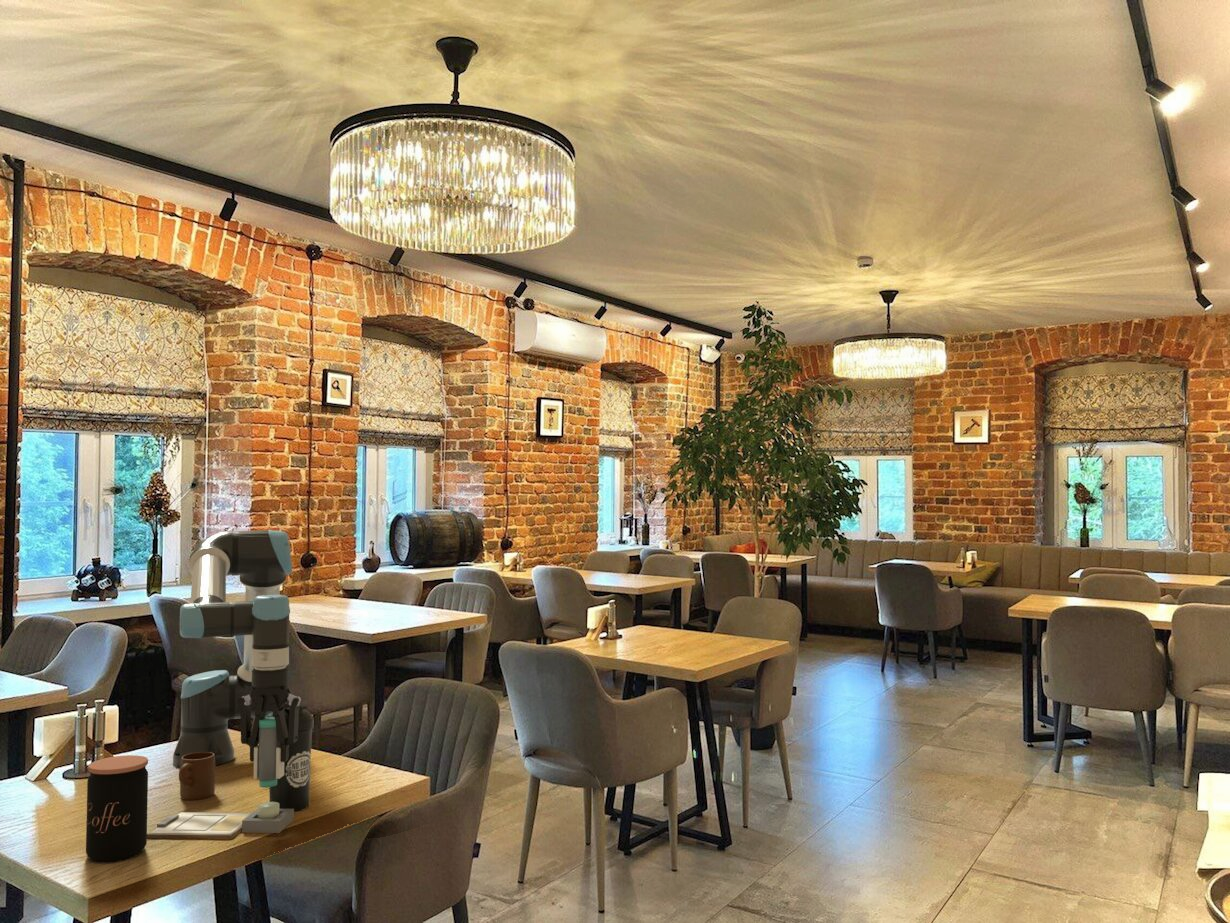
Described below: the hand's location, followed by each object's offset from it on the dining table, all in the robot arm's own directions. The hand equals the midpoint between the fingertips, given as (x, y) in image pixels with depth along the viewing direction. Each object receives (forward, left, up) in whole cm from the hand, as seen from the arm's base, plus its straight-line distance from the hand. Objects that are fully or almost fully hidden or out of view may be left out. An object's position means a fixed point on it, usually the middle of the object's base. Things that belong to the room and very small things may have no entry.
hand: (268, 776), depth 204 cm
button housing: (0, 0, -11) cm, 11 cm away
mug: (-18, -26, -11) cm, 33 cm away
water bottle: (-13, -1, -11) cm, 17 cm away
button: (0, 0, -9) cm, 9 cm away
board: (+1, -14, -11) cm, 17 cm away
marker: (0, 0, -2) cm, 2 cm away
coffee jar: (+17, -24, -11) cm, 31 cm away
